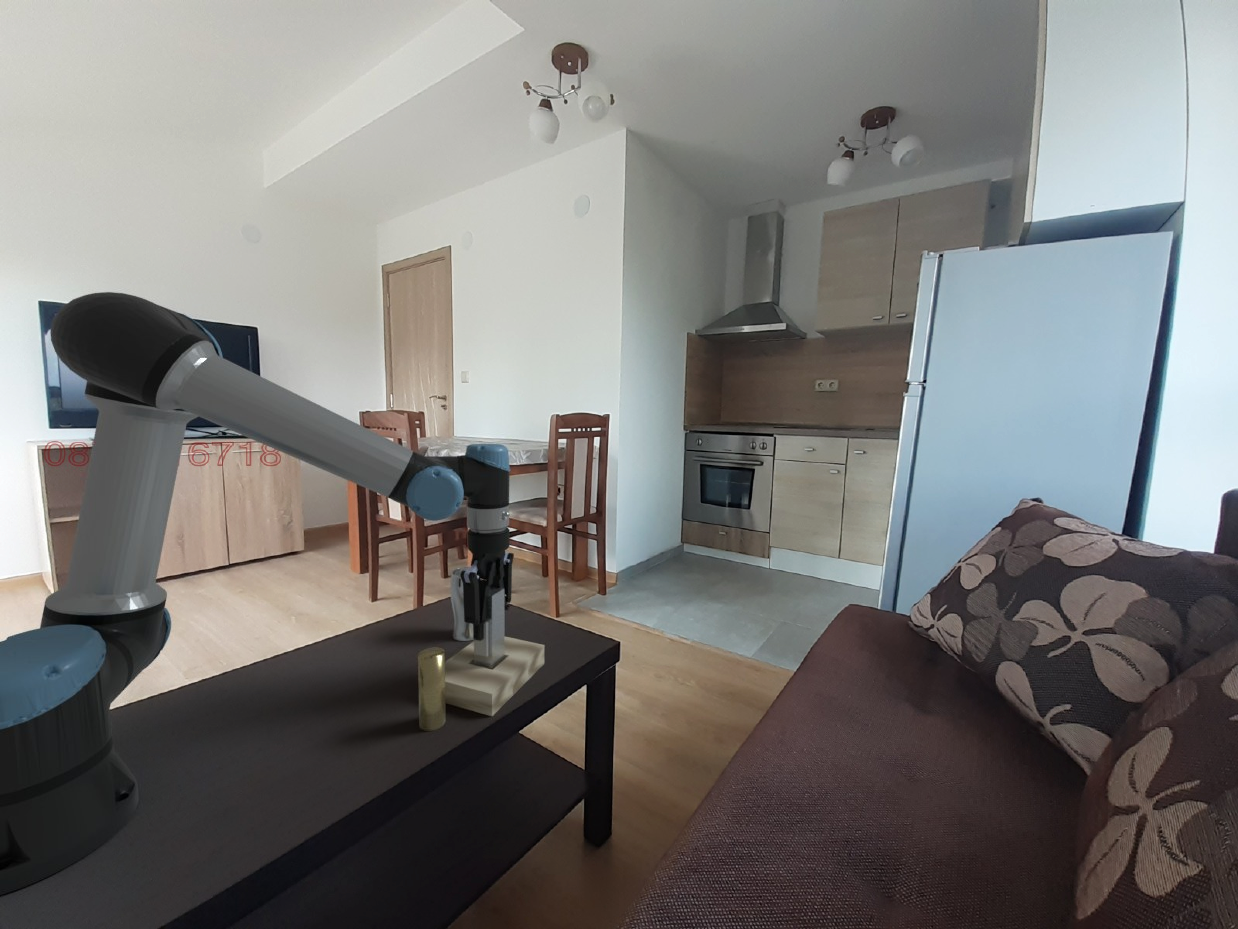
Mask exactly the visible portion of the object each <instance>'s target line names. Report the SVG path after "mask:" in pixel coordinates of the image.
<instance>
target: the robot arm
mask: <svg viewBox="0 0 1238 929" xmlns="http://www.w3.org/2000/svg"><path fill="white" fill-rule="evenodd" d="M50 342H51V344H52V347H53V350H54V352H55V354H56V355H57V356H58V358H59V359H60V361H61V362H62V363H63V364H64V365H65V366H66V367H67V368H68V370H70V371H71V372H72V373H74V374H75V375H77V376H78V377H79V378H81V379H83V380H85V381H86V385H85V389H84V390H85V391H84V396H85V398H86V399H87V400H89V401H90V402H91V404H93V405H94V407H96V408H97V410H98V416H97V419H96V420H97V421H96V425H95V426H96V427H95V432H94V437H93V443H92V447H91V452H90V458H89V463H88V467H87V468H88V469H87V473H86V478H85V484H84V489H83V495H82V499H81V505H80V510H79V516H78V519H77V525H76V526H77V527H76V532H75V537H74V542H73V547H72V552H71V558H70V563H69V569H68V572H67V579H66V582H65V583H66V584H65V585H64V586H62V587H61V588H59V589H57V590H56V591H54V592H52V593H51V594H49V595H48V596H46V598H45V600H44V605H43V611H42V616H41V620H40V626H39V628H35V629H31V630H27V631H23V632H19V633H17V634H12V635H9V636H7V637H6V638H5V640H2V641H0V896H2V895H5V894H8V893H11V892H13V891H14V892H15V891H18V890H19V889H22V888H25V887H27V886H30V885H33V884H34V883H37V882H40V881H41V880H43V879H46V878H48V877H50V876H53V875H54V874H56V873H58V872H60V871H62V870H64V869H66V868H67V867H69V866H71V865H73V864H74V863H77V862H78V861H80V860H81V859H83V858H84V857H86V856H87V855H89V854H91V853H92V852H93V851H95V850H97V849H98V848H99V847H101V846H102V845H103V844H104V843H106V842H107V841H109V840H110V839H111V838H113V836H114V835H116V834H117V833H118V832H119V831H120V830H121V829H122V828H123V827H124V826H125V825H126V824H127V823H128V822H129V820H130V819H131V818H132V816H133V815H134V814H135V811H136V810H137V808H138V805H139V801H140V800H139V789H138V788H139V786H138V782H137V779H136V777H135V776H134V774H133V773H132V772H131V770H130V769H129V767H128V766H127V764H126V763H125V762H124V761H123V760H122V758H121V757H120V755H119V754H118V752H117V751H116V750H115V748H114V743H113V733H112V720H111V704H112V703H113V702H114V701H115V700H116V699H117V698H118V697H119V696H120V694H122V693H123V691H125V689H127V687H128V686H129V685H130V684H131V683H132V682H134V681H135V679H136V678H137V677H138V676H139V675H140V674H141V673H142V672H143V671H144V670H145V669H147V668H148V667H149V666H150V665H152V663H153V662H154V661H155V660H156V659H157V658H158V656H159V655H160V654H161V651H163V649H164V647H165V646H166V643H167V641H168V639H169V637H170V635H171V630H172V618H171V614H170V612H169V609H168V608H167V607H166V603H167V598H168V591H167V590H166V589H165V588H163V587H162V586H161V585H159V584H158V583H157V577H158V572H159V568H160V567H159V566H160V561H161V557H162V551H163V547H164V541H165V536H166V532H167V531H166V529H167V526H168V522H169V516H170V511H171V506H172V501H173V500H172V499H173V495H174V489H175V485H176V479H177V476H178V470H179V463H180V460H181V455H182V447H183V446H184V445H183V444H184V443H183V442H184V438H185V434H186V428H187V425H188V423H190V422H191V421H192V420H194V419H196V418H198V417H199V418H202V419H204V420H207V421H209V422H210V423H213V424H215V425H218V426H220V427H223V428H225V429H227V430H230V431H232V432H234V433H237V434H239V435H242V437H243V436H244V437H246V438H247V439H251V440H253V441H255V442H258V443H259V444H262V445H264V446H267V447H269V448H271V449H274V450H276V451H278V452H280V453H283V454H286V455H288V456H290V457H293V458H295V459H296V460H297V459H298V460H299V461H302V462H305V463H307V464H309V465H312V466H314V467H316V468H318V469H320V470H322V471H325V472H328V473H330V474H332V475H335V476H336V477H339V478H341V479H344V480H346V481H348V482H351V483H353V484H356V485H358V486H359V487H363V488H365V489H367V490H368V491H369V490H370V491H372V492H374V493H376V494H379V495H381V496H383V497H386V499H387V498H388V499H390V500H392V501H394V502H396V503H398V504H401V505H403V506H405V507H408V508H409V509H410V510H411V511H412V512H413V513H414V514H415V515H417V516H418V517H420V518H421V519H423V520H427V521H433V522H435V521H437V522H438V521H441V520H443V521H444V520H445V519H449V517H450V518H451V517H452V515H454V514H455V513H456V512H457V511H458V510H459V509H460V507H461V506H462V503H463V500H464V498H466V527H467V528H468V530H467V532H466V534H467V535H466V536H467V539H466V541H467V543H466V544H467V550H468V551H469V552H470V553H471V554H472V557H471V561H470V566H469V567H470V568H469V569H468V570H467V571H462V572H461V574H460V576H461V579H462V582H463V597H464V621H465V622H467V623H471V624H473V638H474V640H473V641H474V654H477V655H481V656H486V657H487V656H488V655H489V621H486V615H487V606H488V595H489V588H490V587H496V588H504V611H509V609H510V606H511V605H508V604H510V603H511V602H512V587H513V586H512V580H513V577H512V576H513V572H512V571H513V563H514V562H513V561H514V558H515V555H514V553H512V552H509V551H508V552H506V551H507V550H508V549H509V548H510V546H511V545H510V529H509V526H510V515H511V514H510V474H511V473H510V472H511V468H510V457H509V456H510V454H509V449H508V447H507V446H506V445H504V444H499V443H471V444H468V445H467V446H466V449H465V453H464V454H462V455H455V456H453V455H450V456H449V455H447V456H443V455H442V456H441V455H439V456H438V455H437V456H433V455H432V456H429V455H427V456H424V454H423V455H422V454H420V453H418V452H415V451H414V450H411V449H409V448H408V447H406V446H403V445H402V444H399V443H397V442H396V441H393V440H391V439H390V438H387V437H386V436H383V435H381V434H380V433H379V434H378V433H377V432H375V431H373V430H371V429H369V428H366V427H365V426H364V425H363V426H362V425H361V424H359V423H357V422H355V421H352V420H351V419H348V418H346V417H344V416H343V415H340V414H338V413H336V412H334V411H332V410H330V409H328V408H326V407H324V406H322V405H320V404H318V403H316V402H313V401H311V400H309V399H307V398H305V397H303V396H301V395H299V394H297V393H295V392H294V391H291V390H289V389H287V388H284V387H283V386H281V385H279V384H277V383H275V382H273V381H271V380H269V379H266V377H265V378H264V377H262V376H260V375H259V374H256V373H254V372H253V371H251V370H249V369H247V368H244V367H242V366H240V365H239V364H237V363H234V362H232V361H230V360H229V359H226V358H224V357H223V353H222V349H221V347H220V345H219V343H218V341H217V339H216V338H215V337H214V336H213V334H212V333H210V331H208V330H207V329H206V328H205V327H204V326H203V325H202V324H201V323H199V322H198V321H196V320H194V319H193V318H191V317H190V316H188V315H186V314H185V313H180V312H177V311H174V310H172V309H170V308H168V307H165V306H161V305H159V304H156V303H154V302H152V301H150V300H148V299H145V298H143V297H140V296H137V295H133V294H128V293H123V292H112V291H104V292H93V293H89V294H85V295H81V296H79V297H76V298H73V299H71V300H70V301H68V302H67V303H66V304H65V305H63V306H61V308H60V309H59V310H58V311H57V313H56V314H55V315H54V317H53V319H52V322H51V325H50Z"/></svg>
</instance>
